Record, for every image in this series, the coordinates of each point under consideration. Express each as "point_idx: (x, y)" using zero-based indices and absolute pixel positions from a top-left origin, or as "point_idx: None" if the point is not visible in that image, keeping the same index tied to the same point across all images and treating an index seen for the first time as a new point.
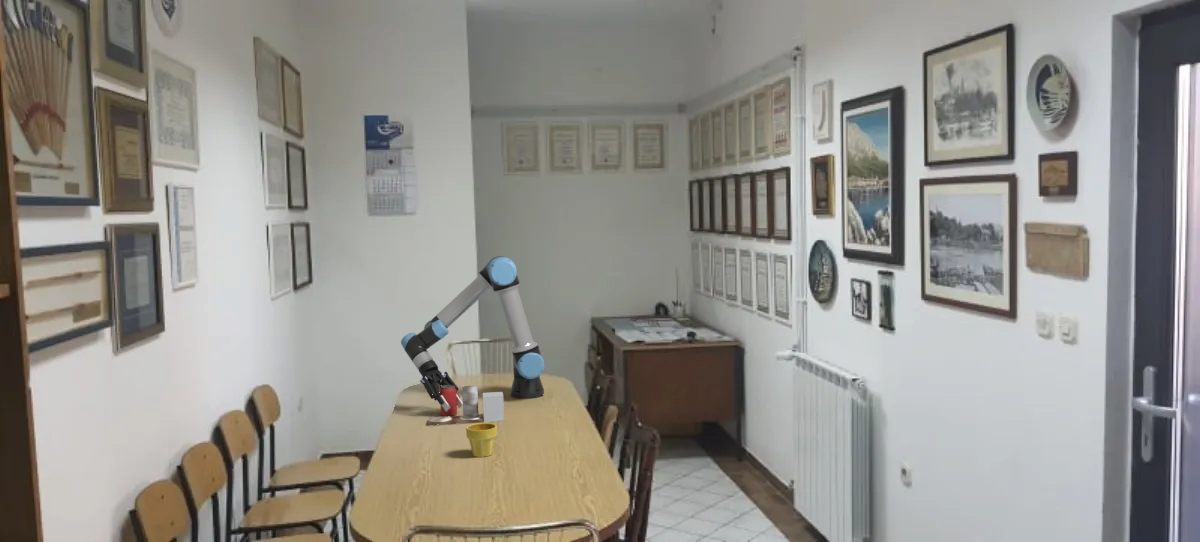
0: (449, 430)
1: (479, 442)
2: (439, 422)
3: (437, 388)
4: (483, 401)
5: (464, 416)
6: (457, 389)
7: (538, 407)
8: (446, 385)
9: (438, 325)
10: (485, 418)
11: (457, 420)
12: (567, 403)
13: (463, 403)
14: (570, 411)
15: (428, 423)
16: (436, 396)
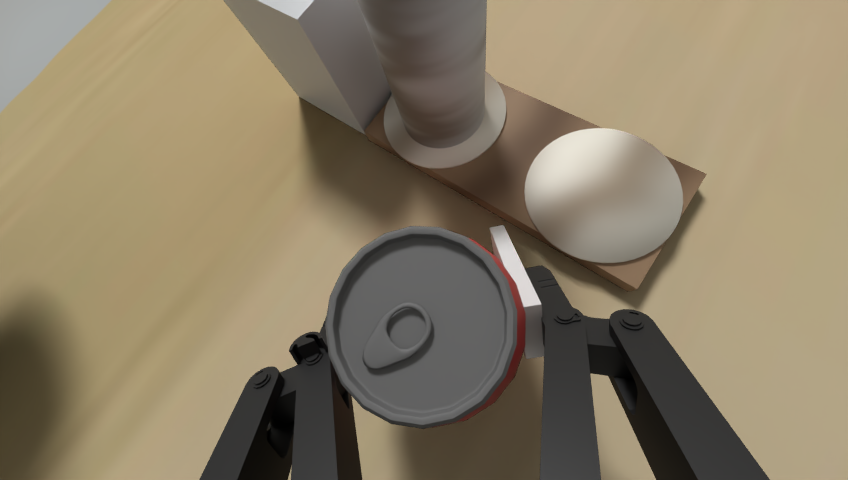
0: (638, 30)
1: None
2: (634, 144)
3: (555, 403)
4: None
5: (484, 102)
6: (275, 368)
7: (117, 126)
8: (383, 406)
9: None
10: None
11: (533, 106)
12: (30, 106)
13: (485, 41)
14: (130, 6)
15: (702, 175)
16: (593, 320)
